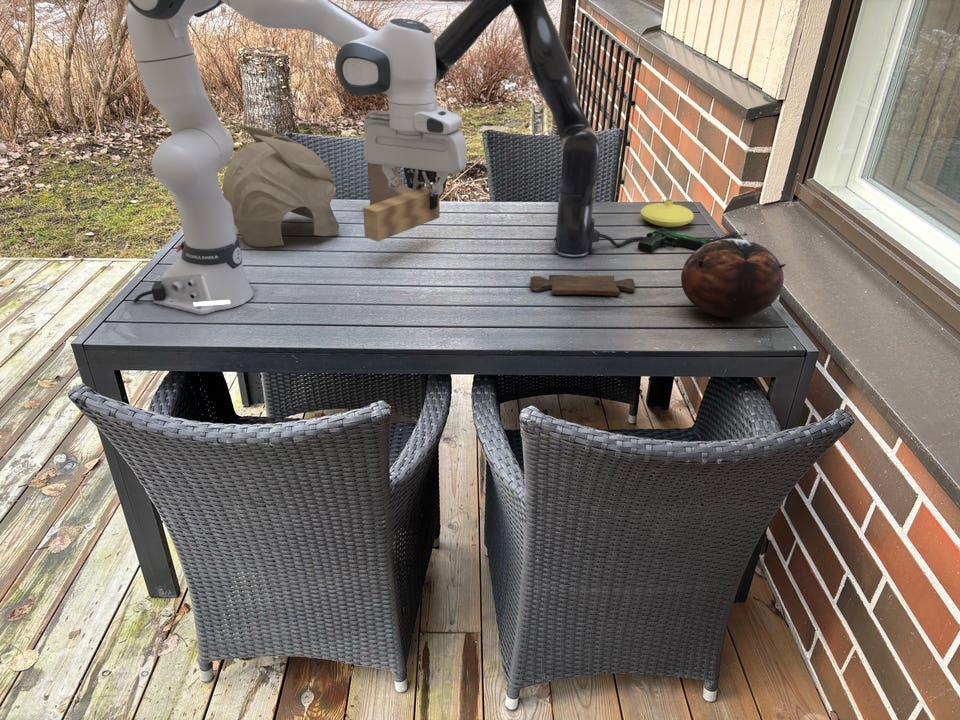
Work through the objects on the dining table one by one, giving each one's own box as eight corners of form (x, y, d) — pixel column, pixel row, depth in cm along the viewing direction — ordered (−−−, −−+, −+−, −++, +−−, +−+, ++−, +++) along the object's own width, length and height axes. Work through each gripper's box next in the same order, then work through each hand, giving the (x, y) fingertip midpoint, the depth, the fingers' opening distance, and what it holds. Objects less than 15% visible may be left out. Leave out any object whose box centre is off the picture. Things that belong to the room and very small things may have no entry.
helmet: (352, 242, 202) (347, 133, 187) (249, 261, 186) (234, 144, 172) (313, 214, 220) (305, 113, 206) (217, 230, 205) (201, 122, 190)
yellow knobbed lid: (637, 212, 224) (640, 190, 220) (689, 215, 222) (693, 193, 219) (640, 230, 211) (643, 207, 207) (695, 233, 209) (699, 210, 205)
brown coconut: (756, 268, 174) (792, 226, 156) (764, 335, 169) (803, 301, 150) (665, 264, 174) (691, 222, 155) (670, 332, 168) (697, 297, 149)
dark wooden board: (638, 298, 171) (631, 281, 180) (639, 292, 170) (632, 275, 179) (530, 294, 172) (529, 277, 180) (531, 288, 171) (529, 271, 179)
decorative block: (418, 219, 216) (415, 117, 200) (370, 216, 217) (363, 114, 202) (423, 211, 222) (421, 111, 207) (376, 208, 224) (370, 109, 208)
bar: (426, 213, 199) (426, 185, 195) (439, 217, 197) (439, 189, 193) (364, 237, 183) (362, 207, 179) (378, 241, 180) (376, 211, 176)
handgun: (632, 238, 197) (658, 223, 207) (630, 248, 199) (657, 232, 209) (685, 255, 189) (710, 237, 198) (684, 265, 190) (708, 247, 200)
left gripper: (355, 115, 132) (360, 188, 139) (456, 125, 126) (457, 201, 133) (371, 108, 137) (376, 179, 144) (470, 118, 131) (469, 192, 138)
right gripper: (394, 141, 187) (397, 204, 195) (436, 150, 179) (436, 216, 188) (414, 136, 192) (415, 198, 200) (455, 145, 184) (455, 209, 193)
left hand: (415, 190), depth 139 cm, fingers open, 8 cm apart
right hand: (425, 206), depth 194 cm, fingers closed on bar, 4 cm apart
